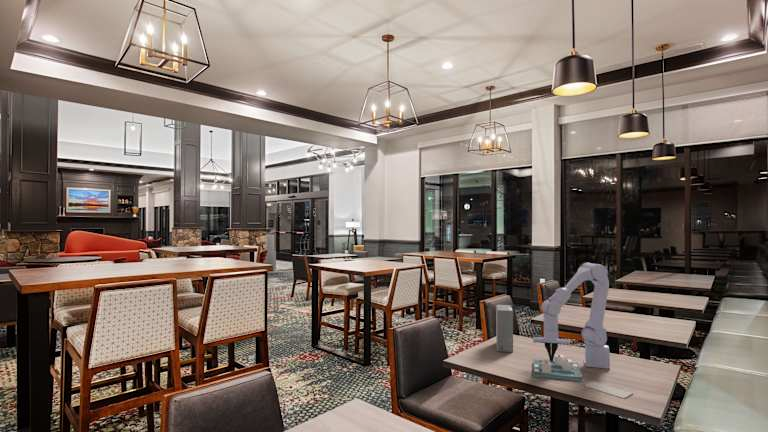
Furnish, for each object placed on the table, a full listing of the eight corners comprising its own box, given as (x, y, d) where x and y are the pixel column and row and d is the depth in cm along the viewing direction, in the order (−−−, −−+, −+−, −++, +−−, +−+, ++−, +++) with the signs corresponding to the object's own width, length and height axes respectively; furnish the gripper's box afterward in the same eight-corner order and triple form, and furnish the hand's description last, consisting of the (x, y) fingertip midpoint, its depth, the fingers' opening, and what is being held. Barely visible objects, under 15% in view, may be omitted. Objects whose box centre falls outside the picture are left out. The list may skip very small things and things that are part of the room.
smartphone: (624, 398, 146) (583, 385, 158) (624, 400, 146) (583, 386, 158) (633, 393, 150) (592, 381, 162) (633, 395, 150) (592, 382, 162)
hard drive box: (513, 352, 198) (513, 311, 199) (497, 351, 200) (496, 310, 200) (511, 343, 213) (510, 304, 214) (496, 342, 215) (495, 304, 215)
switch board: (578, 367, 178) (578, 363, 178) (582, 381, 162) (582, 377, 162) (533, 362, 184) (533, 359, 184) (533, 376, 168) (533, 372, 168)
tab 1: (550, 371, 170) (550, 360, 170) (551, 374, 167) (551, 363, 167) (541, 370, 171) (541, 359, 171) (542, 373, 168) (541, 362, 168)
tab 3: (571, 369, 173) (570, 357, 173) (571, 372, 169) (571, 360, 169) (561, 368, 174) (561, 357, 174) (562, 371, 170) (562, 359, 171)
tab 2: (563, 364, 179) (563, 353, 179) (563, 366, 175) (563, 355, 175) (554, 363, 180) (554, 352, 180) (554, 365, 177) (554, 355, 177)
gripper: (568, 327, 180) (569, 359, 180) (533, 325, 185) (533, 356, 185) (569, 332, 174) (570, 364, 173) (533, 329, 179) (533, 361, 178)
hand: (551, 360), depth 179 cm, fingers closed
